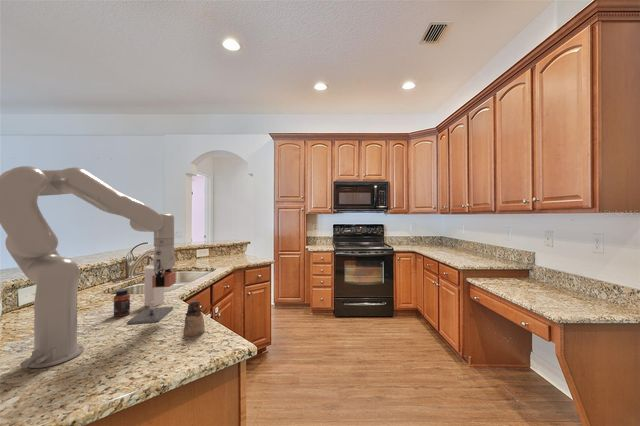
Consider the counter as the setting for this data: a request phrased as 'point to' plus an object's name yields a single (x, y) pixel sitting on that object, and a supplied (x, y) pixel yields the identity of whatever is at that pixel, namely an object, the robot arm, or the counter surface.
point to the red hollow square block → (165, 279)
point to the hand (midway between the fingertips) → (164, 283)
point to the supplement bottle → (121, 303)
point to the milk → (152, 293)
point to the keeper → (150, 314)
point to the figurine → (194, 320)
